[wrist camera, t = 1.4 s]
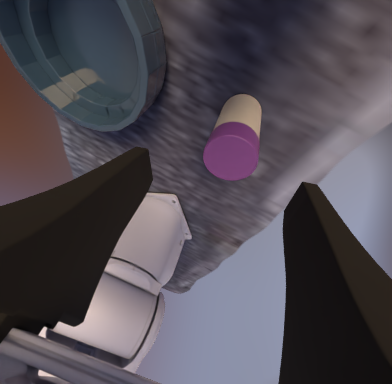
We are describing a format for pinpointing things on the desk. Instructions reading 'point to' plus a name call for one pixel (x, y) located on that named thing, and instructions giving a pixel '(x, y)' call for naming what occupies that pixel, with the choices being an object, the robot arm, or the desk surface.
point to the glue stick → (235, 139)
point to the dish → (88, 56)
